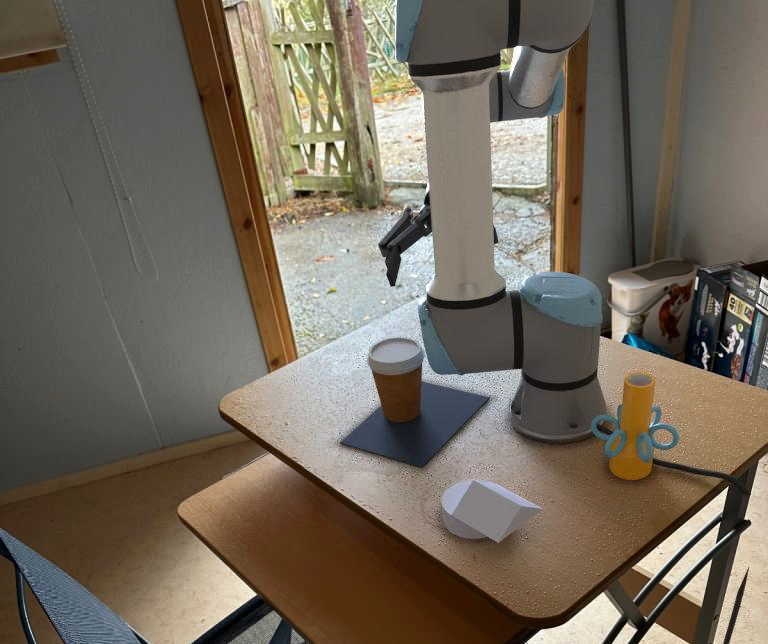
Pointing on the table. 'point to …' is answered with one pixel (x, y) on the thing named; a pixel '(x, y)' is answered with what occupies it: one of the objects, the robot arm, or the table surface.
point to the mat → (417, 426)
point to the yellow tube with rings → (634, 429)
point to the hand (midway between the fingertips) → (430, 276)
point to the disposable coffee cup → (397, 376)
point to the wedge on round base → (484, 510)
